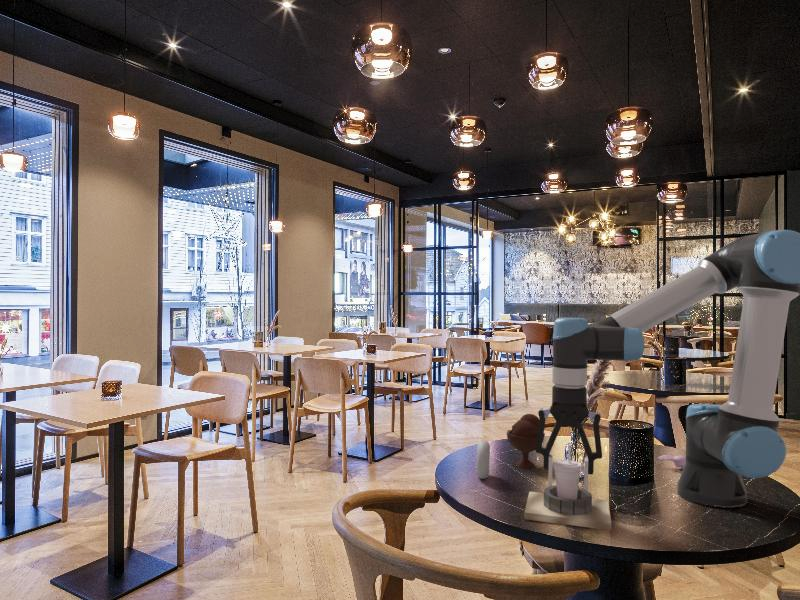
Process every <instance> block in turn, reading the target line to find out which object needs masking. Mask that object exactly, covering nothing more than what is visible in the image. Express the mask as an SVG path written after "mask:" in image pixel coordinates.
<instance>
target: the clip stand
mask: <svg viewBox="0 0 800 600" xmlns="http://www.w3.org/2000/svg"><path fill="white" fill-rule="evenodd" d="M524 520H526V521H527V520H528V521H535V522H543V523H549V524H550V523H551V524H552V523H553V524H557V525H558V524H559V525H567V526H576V527H582V528H590V529H596V530H597V529H598V530H605V531H607V530H608V531H612V519H611V512H610V505H609V501H608V499H600V498H599V499H598V498H593V495H592V493H591V492H590V491H589V490H584V488H580V487H578V493H577V499H576V500H571V499H562V498H559V497H558V494H557V486H556V485H552V486H548V487H545V488H544V489H543V492H537V491H529V492H528V496H527V500H526V505H525V510H524Z"/></svg>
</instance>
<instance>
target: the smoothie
mask: <svg viewBox="0 0 800 600" xmlns="http://www.w3.org/2000/svg"><path fill="white" fill-rule="evenodd" d="M571 446H572V445H571V444H570V443H569V444H568V445H567V454H568V455H567V456H568V457H567V458H568V459H557V460H555V461H552V469H553V470H554V477H555V486H557V494H558V497H559V498H562V499H571V500H576V499H577V493H578V488H579V486H580V474H581V471H582V470H583V469H582V464H581V463H580V462H579V461H576V460H572V455H571V454H572V453H571V452H572V451H571Z"/></svg>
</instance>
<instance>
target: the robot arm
mask: <svg viewBox="0 0 800 600" xmlns="http://www.w3.org/2000/svg"><path fill="white" fill-rule="evenodd" d="M736 288H737V290H738V291H739V292H740V293H741V295H742V296H743V301H742V307H741V308H742V309H741V315H740V320H739V327H738V334H737V339H736V344H735V345H736V346H735V353H734V358H733V365H732V366H733V367H732V372H731V378H730V379H731V380H730V386H729V391H728V395H727V396H728V398H727V401H726V402H723V404H712V403H709V404H708V403H692V404H690V405H688V406H687V408H686V416H685V423H686V424H685V429H686V430H685V457H686V463H685V466H684V468H683V470H682V471H681V474H680V476H679V479H678V480H677V481H678V482H677V488H676V489H677V490H676V491H677V494H678V495H679V496H680V497H682V498H683V499H685V500H687V501H689V502H692V501H693V502H692V503H695V502H697V503H696V504H698V503H701V504H700V505H702V504H708V505H721V506H735V505H740V504H744V503H746V502H747V503H748V492H747V489H746V485H745V482H744V480H743V477H746V478H748V479H749V478H750V479H763V478H766V477H768V476H770V475H772V474H773V473H776V472H777V471H778V470H779V469H780V468H781V467H782V466H783V465H784V462H785V460H786V456H787V446H786V443H785V441H784V439H783V438H782V436H781V435H780V433H778V431H779V426H780V418H779V416H778V415H777V414H776V413H775V411H774V410H773V409H774V402H775V396H776V389H777V385H778V383H777V382H778V377H779V371H780V365H781V364H780V363H781V359H782V352H783V344H784V339H785V334H786V333H785V332H786V329H787V328H786V327H787V320H788V314H789V309H790V308H789V307H790V303H791V302H792V300H794V299H796V298H797V297H798V296H800V232H798V231H795V230H791V229H778V230H777V229H772V230H767V231H765V232H761V233H756V234H755V233H754V234H747V235H743V236H741V237H739V238H736V239H734V240H733V241H730V242H729V243H727V244H726V245H724V246H722V247H721V248H719V249H718V250H716V251H714V252H713V253H711V254H710V255H708V256H706V257H704V258H702V259H700V260H699V261H698V264H697V267H695V268H693V269H691V270H689V271H687V272H686V273H684V274H682V275H680V276H678V277H677V278H675V279H673V280H671V281H670V282H667V283H666V284H664V285H662V286H661V287H659V288H656V289H655V290H653V291H651V292H649V293H648V294H646V295H645V296H643V297H641V298H639V299H637V300H635V301H633V302H632V303H629V304H628V305H626V306H625V307H622V308H621V309H619V310H617V311H616V312H613V313H612V314H609V316H607V317H605V318H603V319H601V320H599V321H597V322H592V323H589V320H588V319H587V318H584V317H557V318H556V319H555V320H554V323H553V333H552V383H553V384H554V385H553V386H552V393H551V394H552V396H551V398H552V399H551V401H552V402H551V403H552V404H551V406H550V408H539V409H538V413H537V414H538V418H539V420H540V423H539V430H538V437H537V444H536V450H535V452H536V453H537V454H540V455H542V457H543V464H542V465H543V470H544V471H548V474H547V475H548V478H547V479H548V482H547V483H548V485H547V486H548V487H549V486H553V456H554V455H553V454H551V451H552V449H553V446H554V444H555V442H556V441H557V440H556V439H557V437H558V434H559V432H560V431H561V429H562V428H566V427H567V428H568V427H569V428H570V427H571V428H573V429H574V428H576V430H577V432H578V434H579V437H580V441H581V443H582V447H583V448H584V451H585V454H586V457H584V464H583V468H584V472H583V489H584V490H586V491H589V475H593V474H594V466H595V465H594V463H595V460H598V459H600V460H601V459H602V458H603V449H602V441H601V440H602V439H601V431H600V421H601V419H602V418H601V417H602V416H601V413H600V412H597V411H596V412H594V411H590V410H589V408H588V405H587V403H588V402H587V400H588V397H587V395H588V394H587V393H588V391H587V390H588V389H587V387H586V386H587V384H588V360H590V361H595V360H596V361H618V362H619V361H624V362H629V361H633V362H634V361H638V360H640V359H641V358H642V356H643V355H644V351H645V338H644V334H643V333H645V332H647V331H648V330H650V329H652V328H654V327H655V326H658V325H659V324H661V323H663V322H665V321H666V320H669V319H670V318H673V317H674V316H675V315H677V314H680V313H681V312H683V311H685V310H687V309H689V308H690V307H692V306H694V305H696V304H697V303H700V302H702V301H704V300H705V299H707V298H708V297H711V296H712V295H714V294H720V295H721V294H725V293H727V292H729V291H730V290H732V289H736ZM550 414H551V416H552V417H553V418H554V420H555V424H554V426H553V428H552V431H551V433H550V436H549V439H548V441H547V443H546V445H545V447H543V443H542V441H543V442H544V440H543V435H544V433H545V426H546V419H548V418H549V415H550ZM588 417H589V421H590V422H591V423H592V428H593V429H592V430H593V437H594V445H595V451H593V450H592V448H591V445H590V442H589V439H588V437H587V434H586V431H585V429H584V426H583V422H584V421H585V420H586V419H587V418H588Z"/></svg>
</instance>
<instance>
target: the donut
mask: <svg viewBox="0 0 800 600" xmlns="http://www.w3.org/2000/svg"><path fill="white" fill-rule="evenodd" d="M476 448H477V449H476V469H475V470H476V475H477V477H478V478H479V479H480V480H485V479H487V478H488V477H489V475H490V460H491V459H490V453H491V452H490V451H491V449H490V448H491V445H490V443H489V442H488V441H487V440H480V441H479V442H478V443H477V447H476Z"/></svg>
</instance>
